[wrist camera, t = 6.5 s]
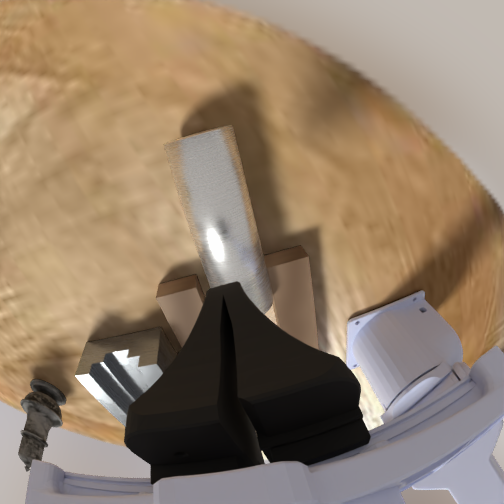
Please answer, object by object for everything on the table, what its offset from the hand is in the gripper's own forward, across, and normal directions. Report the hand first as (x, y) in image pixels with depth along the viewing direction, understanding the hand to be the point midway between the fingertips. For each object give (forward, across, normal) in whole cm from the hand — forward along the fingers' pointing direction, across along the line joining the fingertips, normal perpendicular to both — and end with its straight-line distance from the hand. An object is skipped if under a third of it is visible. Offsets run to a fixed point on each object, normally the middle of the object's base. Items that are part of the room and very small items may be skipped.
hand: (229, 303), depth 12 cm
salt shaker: (+9, +27, +14) cm, 32 cm away
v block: (+8, +11, +12) cm, 18 cm away
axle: (+7, 0, -1) cm, 7 cm away
